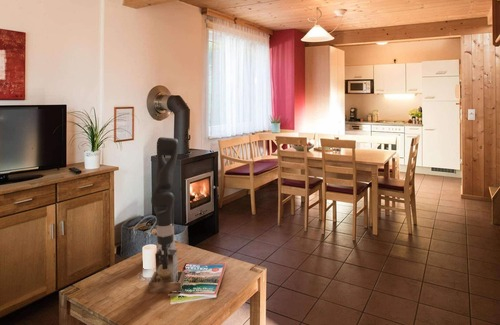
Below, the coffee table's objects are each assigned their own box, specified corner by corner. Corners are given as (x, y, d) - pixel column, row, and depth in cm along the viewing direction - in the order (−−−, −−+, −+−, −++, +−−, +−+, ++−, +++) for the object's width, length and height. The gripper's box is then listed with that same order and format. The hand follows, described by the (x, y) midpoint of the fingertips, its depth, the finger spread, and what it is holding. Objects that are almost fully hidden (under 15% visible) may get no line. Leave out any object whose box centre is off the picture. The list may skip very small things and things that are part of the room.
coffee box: (156, 284, 178) (154, 253, 175) (161, 278, 184) (159, 248, 181) (174, 286, 176) (172, 254, 173) (178, 279, 183) (177, 249, 180)
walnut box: (149, 293, 174) (148, 283, 173) (155, 280, 186) (154, 271, 185) (180, 292, 175) (180, 282, 174) (184, 280, 186) (184, 271, 186)
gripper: (160, 227, 183) (162, 259, 186) (153, 238, 168) (155, 272, 171) (175, 227, 183) (176, 258, 186) (169, 238, 169) (171, 272, 172)
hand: (166, 265), depth 179 cm, fingers closed on coffee box, 7 cm apart
